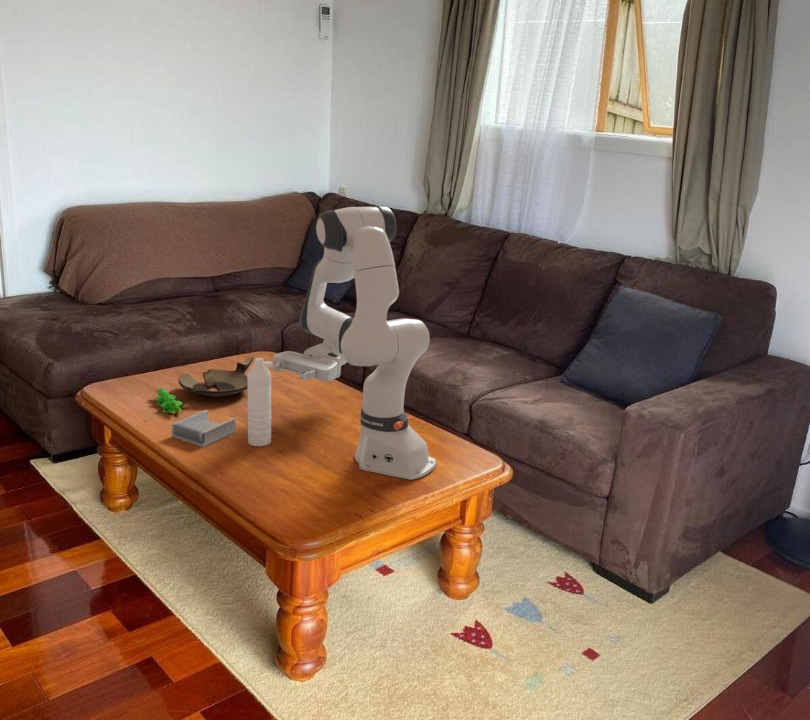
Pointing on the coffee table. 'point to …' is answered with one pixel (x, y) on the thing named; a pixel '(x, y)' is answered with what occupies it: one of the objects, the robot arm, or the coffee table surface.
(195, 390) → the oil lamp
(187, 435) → the keeper cradle
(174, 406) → the crocodile figurine
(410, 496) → the coffee table surface
